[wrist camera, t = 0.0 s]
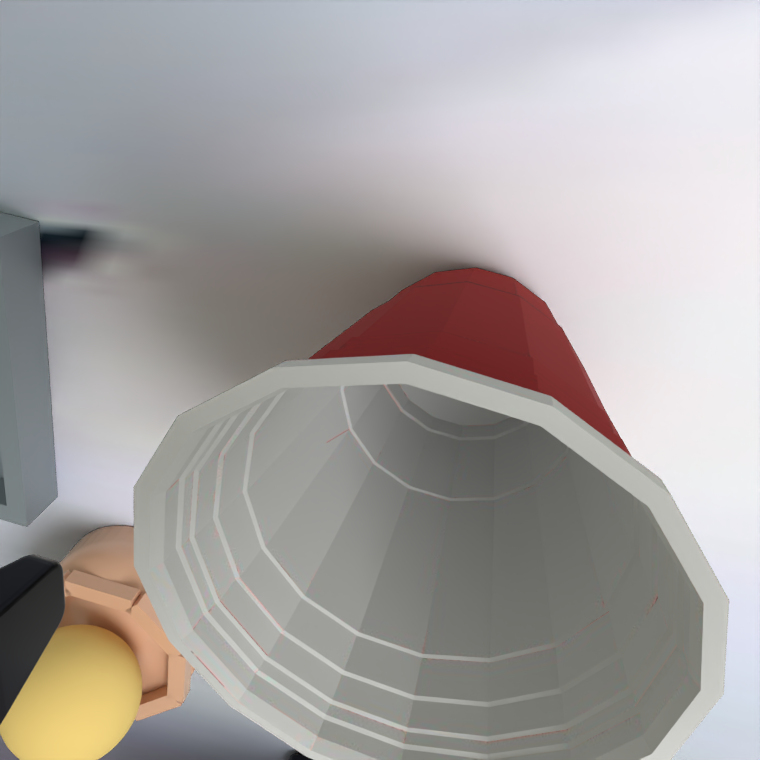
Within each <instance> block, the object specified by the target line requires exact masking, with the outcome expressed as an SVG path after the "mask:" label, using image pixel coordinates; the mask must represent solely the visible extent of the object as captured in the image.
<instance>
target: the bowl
mask: <svg viewBox="0 0 760 760" xmlns="http://www.w3.org/2000/svg"><path fill="white" fill-rule="evenodd" d="M60 564H61V566H62V568H63V577H64V592H65V611H64V614H63V617H62V620H61V622H60V624H59V626H58V628H61V627H64V626H69V625H80V624H83V625H93V626H98V627H101V628H104V629H107V630H109V631H111V632H113V633H114V634H116V635H117V636H119V637H120V638H121V639H123V640H124V641H125V642H126V643H127V644H128V645H129V647H130V648H131V649H132V651H133V653H134V654H135V656H136V658H137V660H138V663H139V666H140V670H141V675H142V697H141V702H140V706H139V709H138V712H137V715H136V717H135V720H136V721H139V720H142V719H144V718H147V717H150V716H153V715H156V714H159V713H162V712H164V711H167V710H170V709H173V708H176V707H179V706H181V704H182V703H183V702H184V701H185V699H186V697H187V695H188V693H189V691H190V680H191V675H192V673H193V672H194V670H195V668H194V667H193V666H192V665H191V664H190V663H189V662H188V661H187V660H186V659H185V658H184V657H183V656H182V654H181V653H180V652H179V651H178V650H177V649H176V648H175V647H174V646H173V645H172V644H171V643H170V641H169V640H168V638H167V636H166V634H165V632H164V629H163V627H162V625H161V623H160V621H159V619H158V617H157V614H156V612H155V610H154V608H153V606H152V604H151V602H150V599H149V597H148V595H147V593H146V591H145V589H144V587H143V584H142V582H141V580H140V578H139V576H138V574H137V571H136V569H135V567H134V527H131V526H108V527H103V528H99V529H96V530H94V531H92V532H90V533H88V534H87V535H85V536H84V537H83V538H82V539H81V540H80V541H79V542H78V543H77V544H76V545H75V546H74V547H73V548H72V550H71V551H70V552H69V553H68V554H67V555H66V556H65V557H64V559H63V560H62V561H61V562H60Z"/></svg>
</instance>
